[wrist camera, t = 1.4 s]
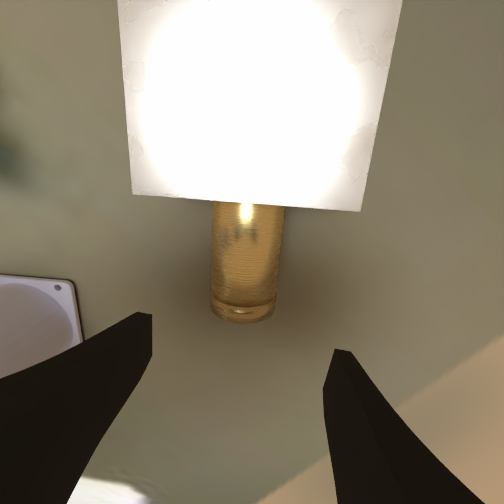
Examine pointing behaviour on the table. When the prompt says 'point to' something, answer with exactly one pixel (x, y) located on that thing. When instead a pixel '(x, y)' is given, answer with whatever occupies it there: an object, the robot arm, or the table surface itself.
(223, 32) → the housing
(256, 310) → the amber cylinder
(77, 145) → the table surface
